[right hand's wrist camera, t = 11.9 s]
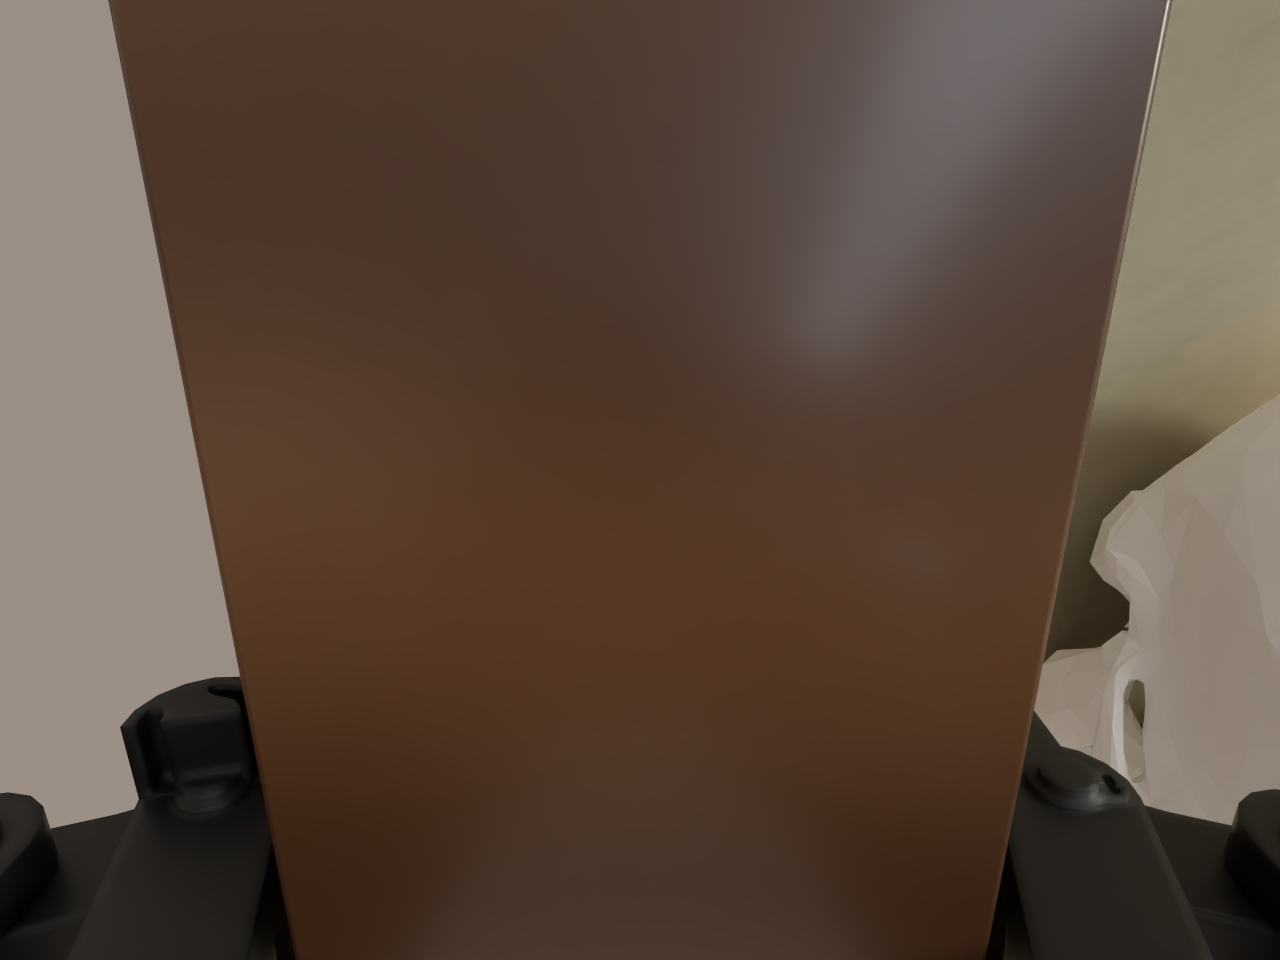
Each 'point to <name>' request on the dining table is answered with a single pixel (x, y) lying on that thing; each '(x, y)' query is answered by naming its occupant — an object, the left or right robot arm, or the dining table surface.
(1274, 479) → the skull
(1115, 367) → the dining table surface
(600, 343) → the walnut bar
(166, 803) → the right robot arm
